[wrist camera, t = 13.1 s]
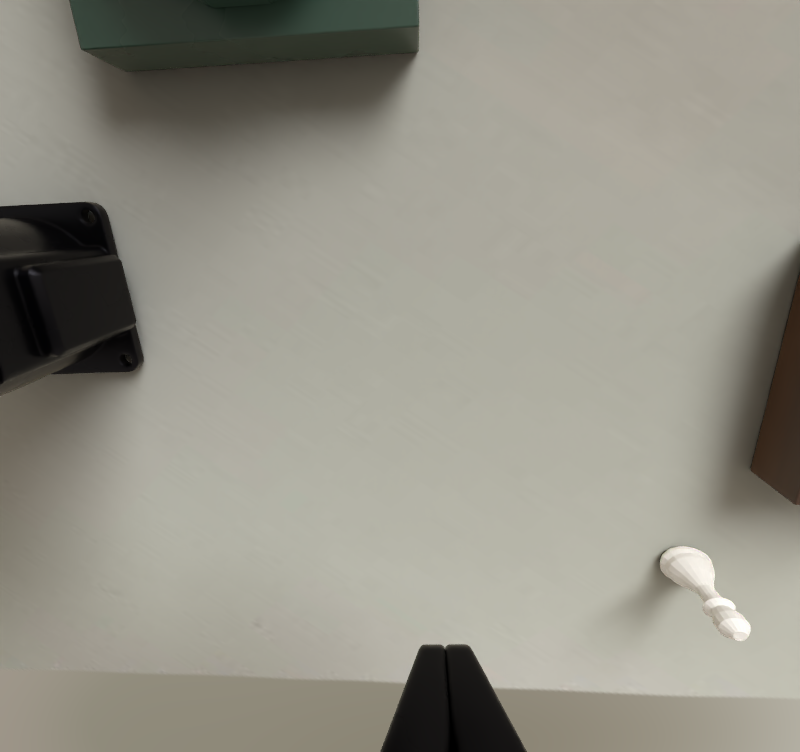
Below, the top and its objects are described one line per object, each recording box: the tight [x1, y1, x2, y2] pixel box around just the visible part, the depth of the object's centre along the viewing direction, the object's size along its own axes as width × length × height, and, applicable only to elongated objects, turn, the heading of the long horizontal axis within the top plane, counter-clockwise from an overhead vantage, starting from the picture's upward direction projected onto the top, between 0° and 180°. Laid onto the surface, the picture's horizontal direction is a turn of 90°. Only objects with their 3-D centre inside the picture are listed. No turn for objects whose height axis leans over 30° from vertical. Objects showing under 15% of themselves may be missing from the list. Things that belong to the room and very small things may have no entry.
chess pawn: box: [660, 546, 751, 641], centre depth 20 cm, size 3×2×4 cm
